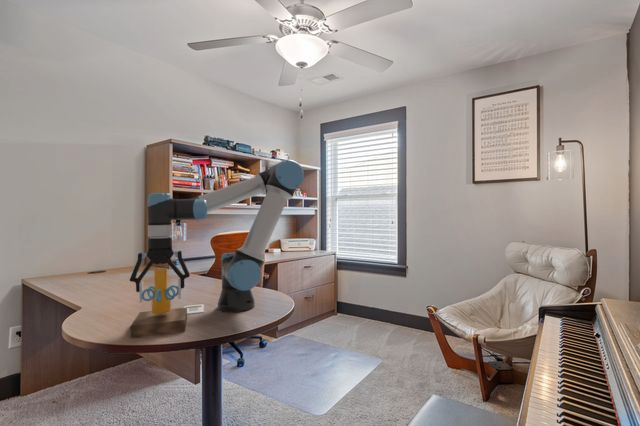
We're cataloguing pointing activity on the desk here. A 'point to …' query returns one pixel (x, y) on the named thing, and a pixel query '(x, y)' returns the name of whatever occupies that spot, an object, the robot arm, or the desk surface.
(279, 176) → the robot arm
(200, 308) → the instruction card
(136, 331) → the base block
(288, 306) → the desk surface
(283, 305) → the desk surface
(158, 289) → the yellow post with rings
